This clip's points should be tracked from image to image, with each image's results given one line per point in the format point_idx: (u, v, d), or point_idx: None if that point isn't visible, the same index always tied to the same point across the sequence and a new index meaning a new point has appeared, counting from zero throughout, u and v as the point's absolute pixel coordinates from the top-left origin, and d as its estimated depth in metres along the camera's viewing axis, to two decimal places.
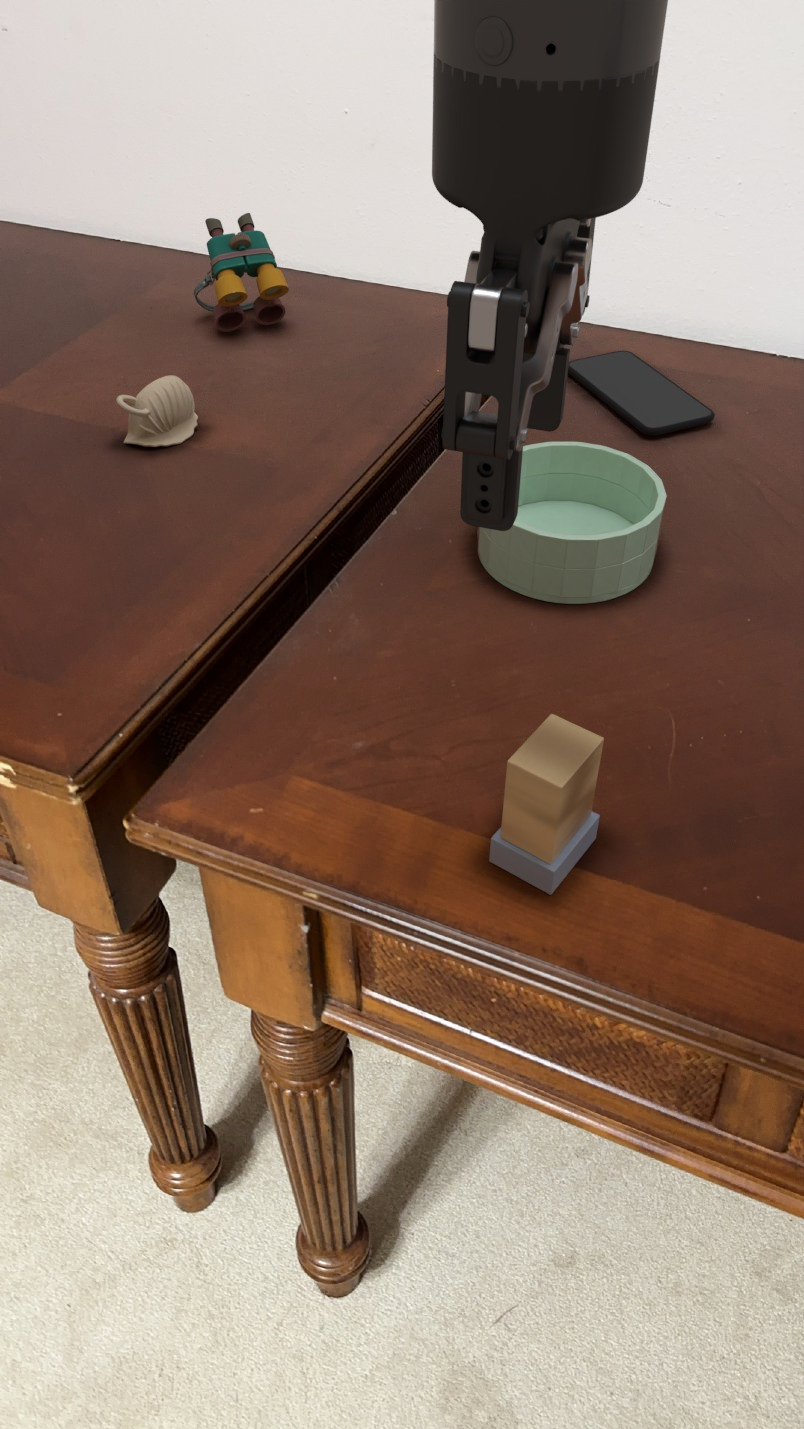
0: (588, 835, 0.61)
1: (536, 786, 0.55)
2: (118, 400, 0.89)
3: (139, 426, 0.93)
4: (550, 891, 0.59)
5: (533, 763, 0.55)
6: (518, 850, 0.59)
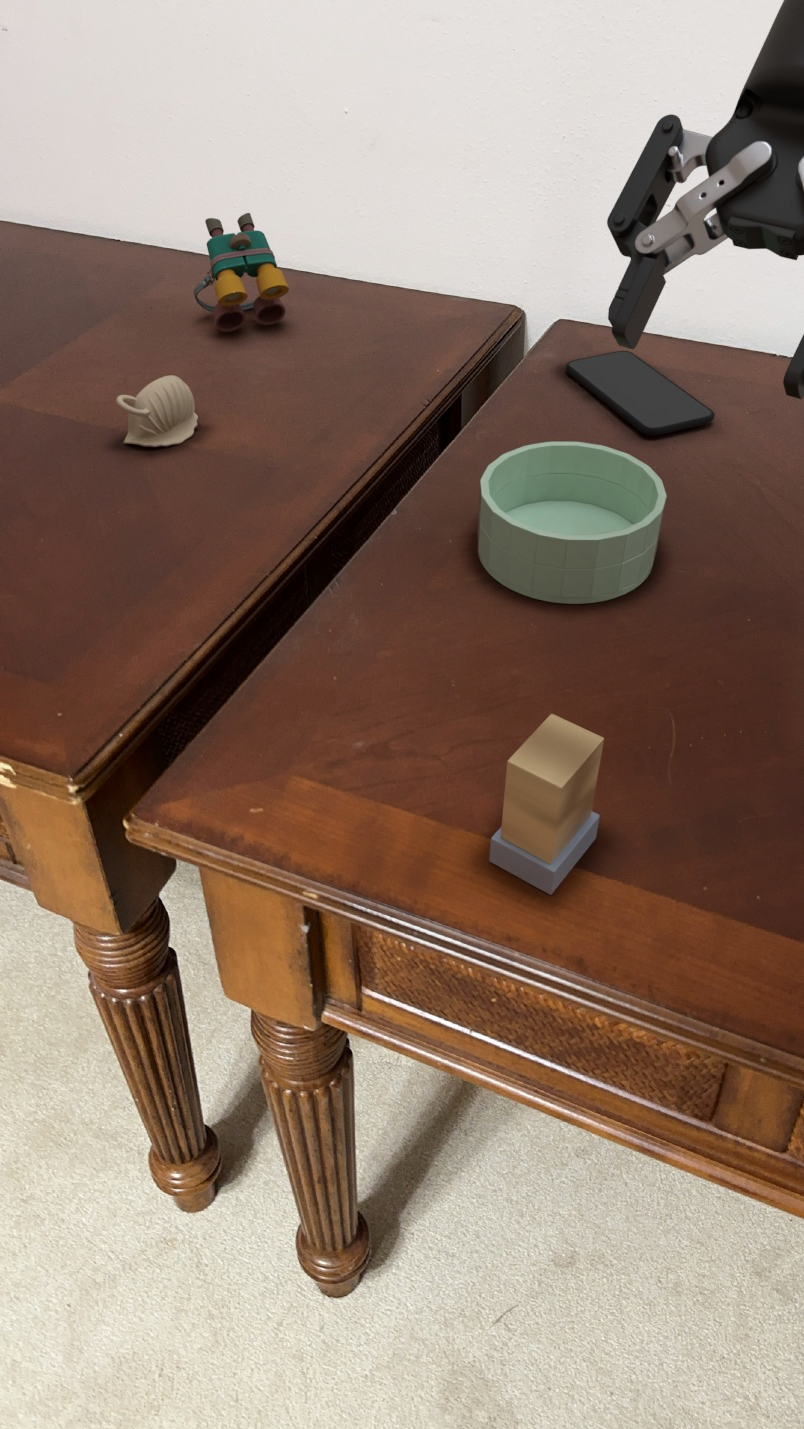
0: (588, 835, 0.61)
1: (536, 786, 0.55)
2: (118, 400, 0.89)
3: (139, 426, 0.93)
4: (550, 891, 0.59)
5: (533, 763, 0.55)
6: (518, 850, 0.59)
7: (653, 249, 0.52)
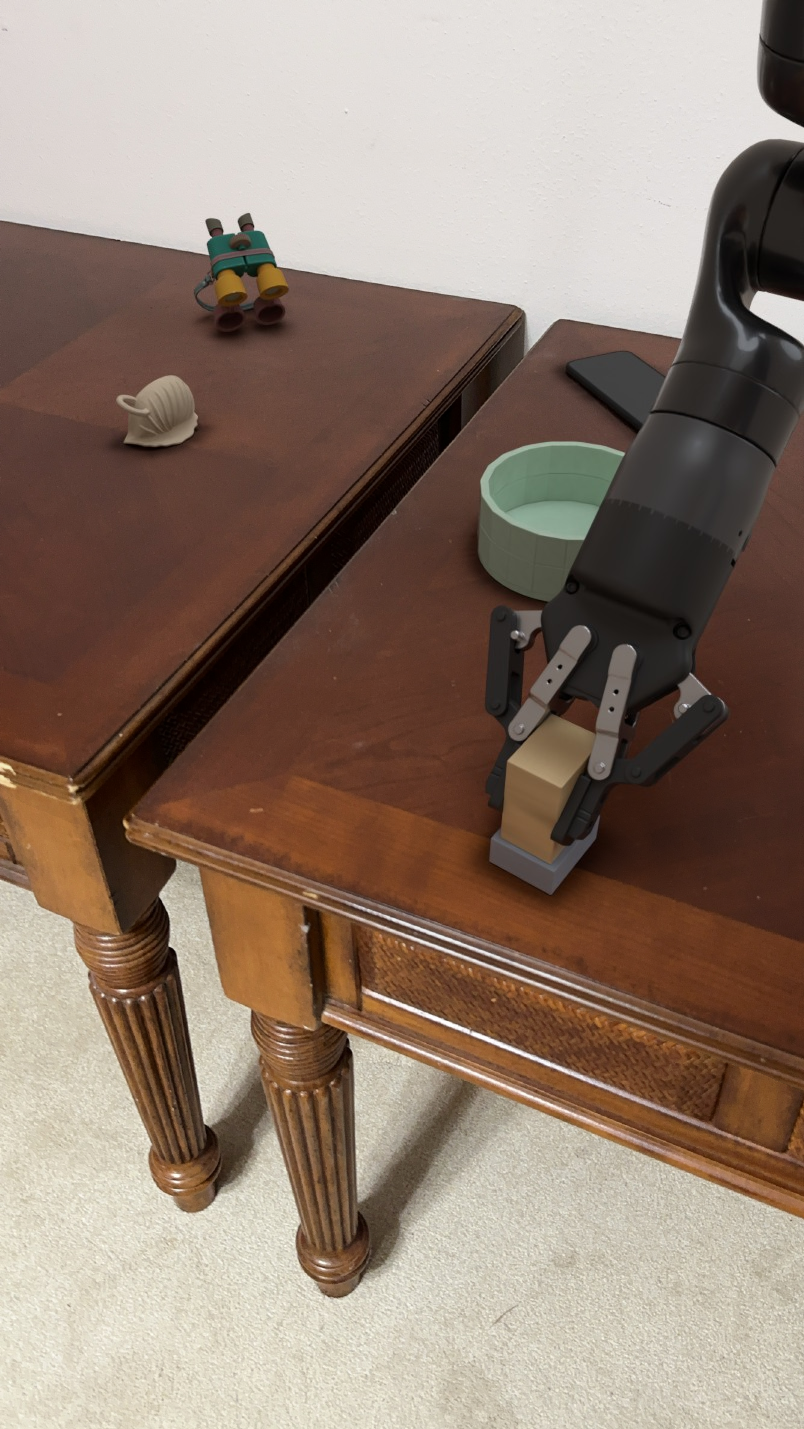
0: (588, 835, 0.61)
1: (536, 786, 0.55)
2: (118, 400, 0.89)
3: (139, 426, 0.93)
4: (550, 891, 0.59)
5: (533, 763, 0.55)
6: (518, 850, 0.59)
7: (527, 735, 0.57)
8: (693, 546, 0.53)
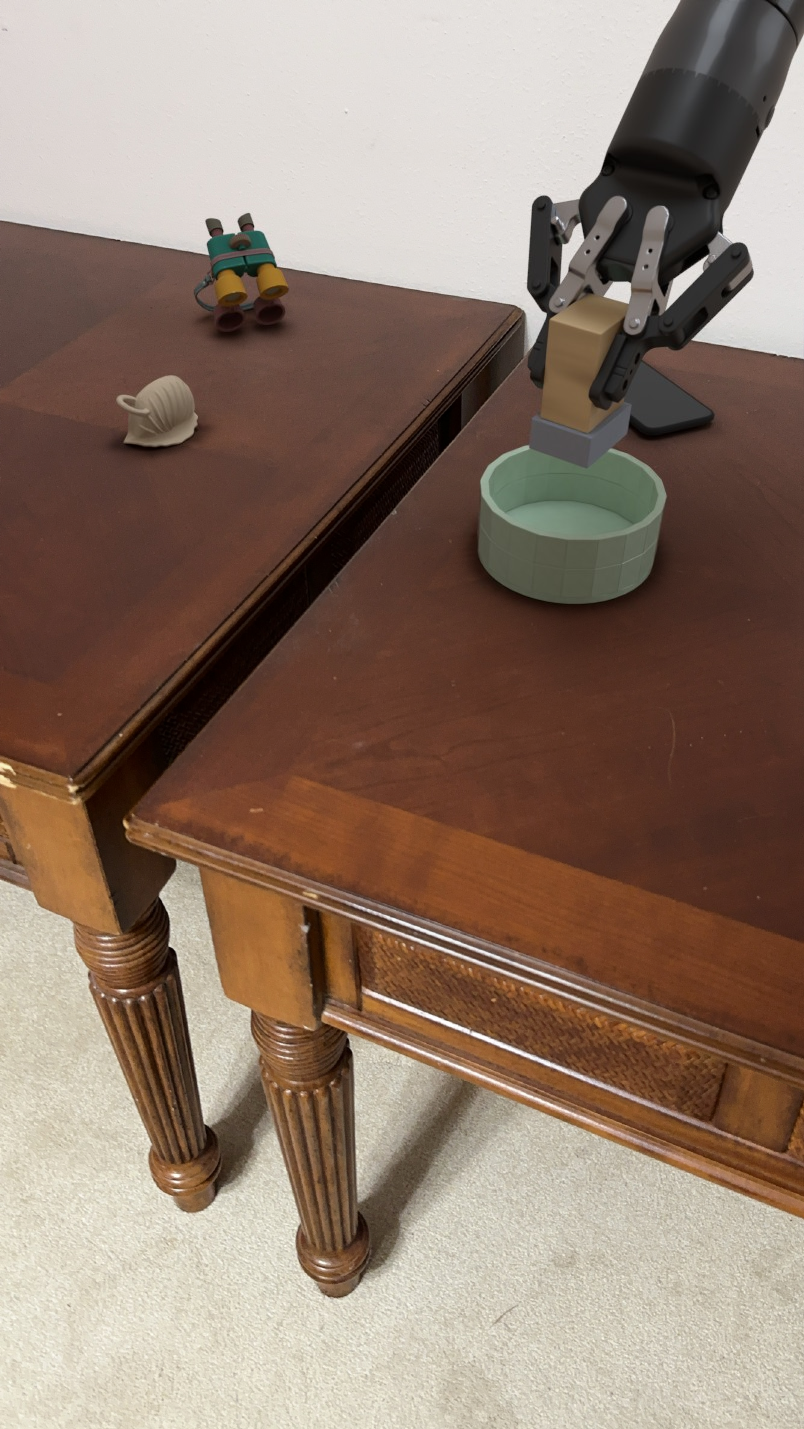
0: (620, 420, 0.65)
1: (576, 340, 0.60)
2: (118, 400, 0.89)
3: (139, 426, 0.93)
4: (586, 464, 0.64)
5: (573, 320, 0.60)
6: (557, 425, 0.64)
7: (567, 306, 0.62)
8: (722, 102, 0.58)
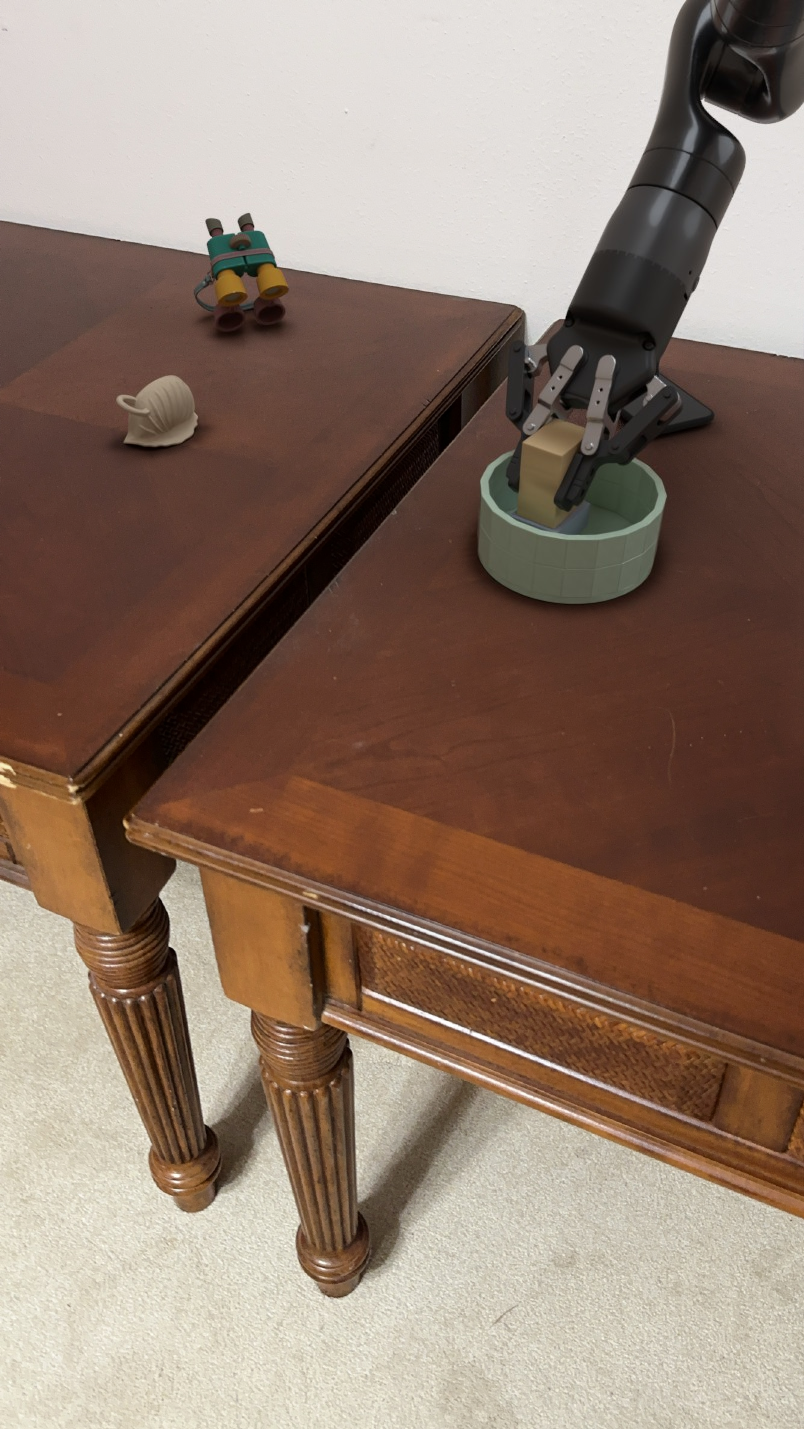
0: (581, 516, 0.82)
1: (543, 459, 0.76)
2: (118, 400, 0.89)
3: (139, 426, 0.93)
4: None
5: (541, 443, 0.77)
6: (530, 521, 0.80)
7: (536, 430, 0.78)
8: (656, 277, 0.74)
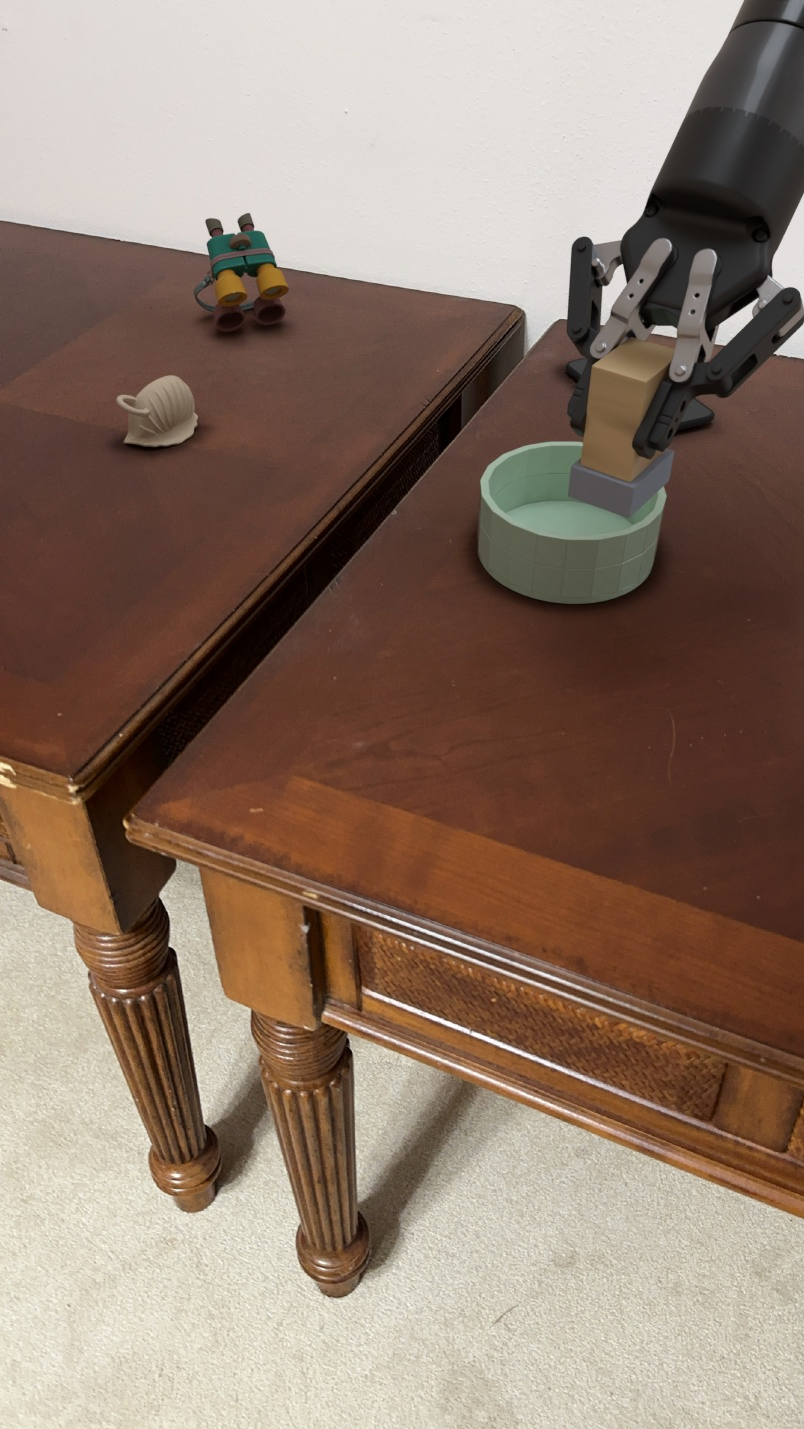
0: (663, 468, 0.63)
1: (620, 388, 0.58)
2: (118, 400, 0.89)
3: (139, 426, 0.93)
4: (628, 514, 0.62)
5: (617, 366, 0.58)
6: (598, 473, 0.62)
7: (609, 351, 0.60)
8: (773, 142, 0.55)
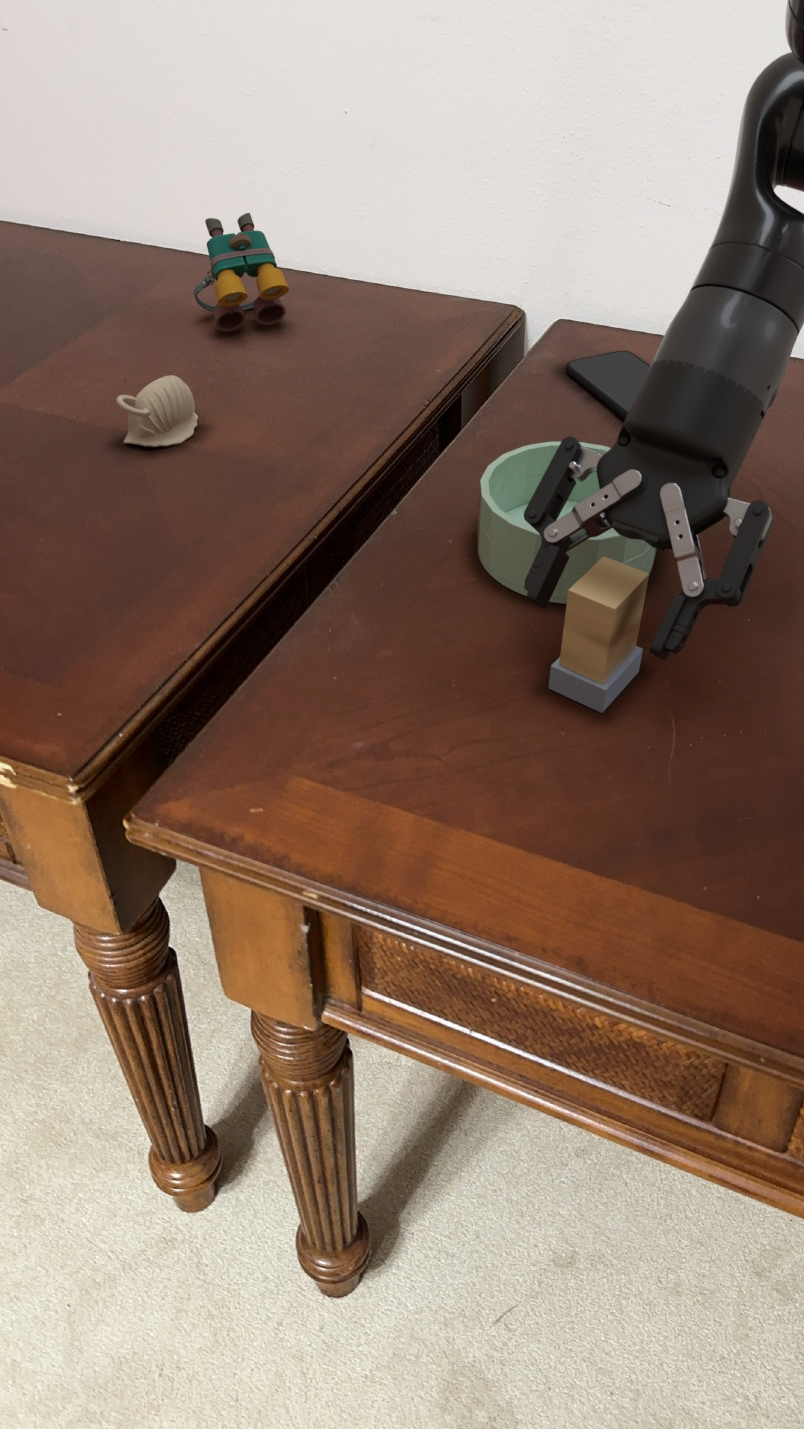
0: (633, 665, 0.71)
1: (593, 610, 0.66)
2: (118, 400, 0.89)
3: (139, 426, 0.93)
4: (601, 709, 0.70)
5: (590, 591, 0.66)
6: (575, 674, 0.70)
7: (557, 540, 0.68)
8: (729, 395, 0.63)
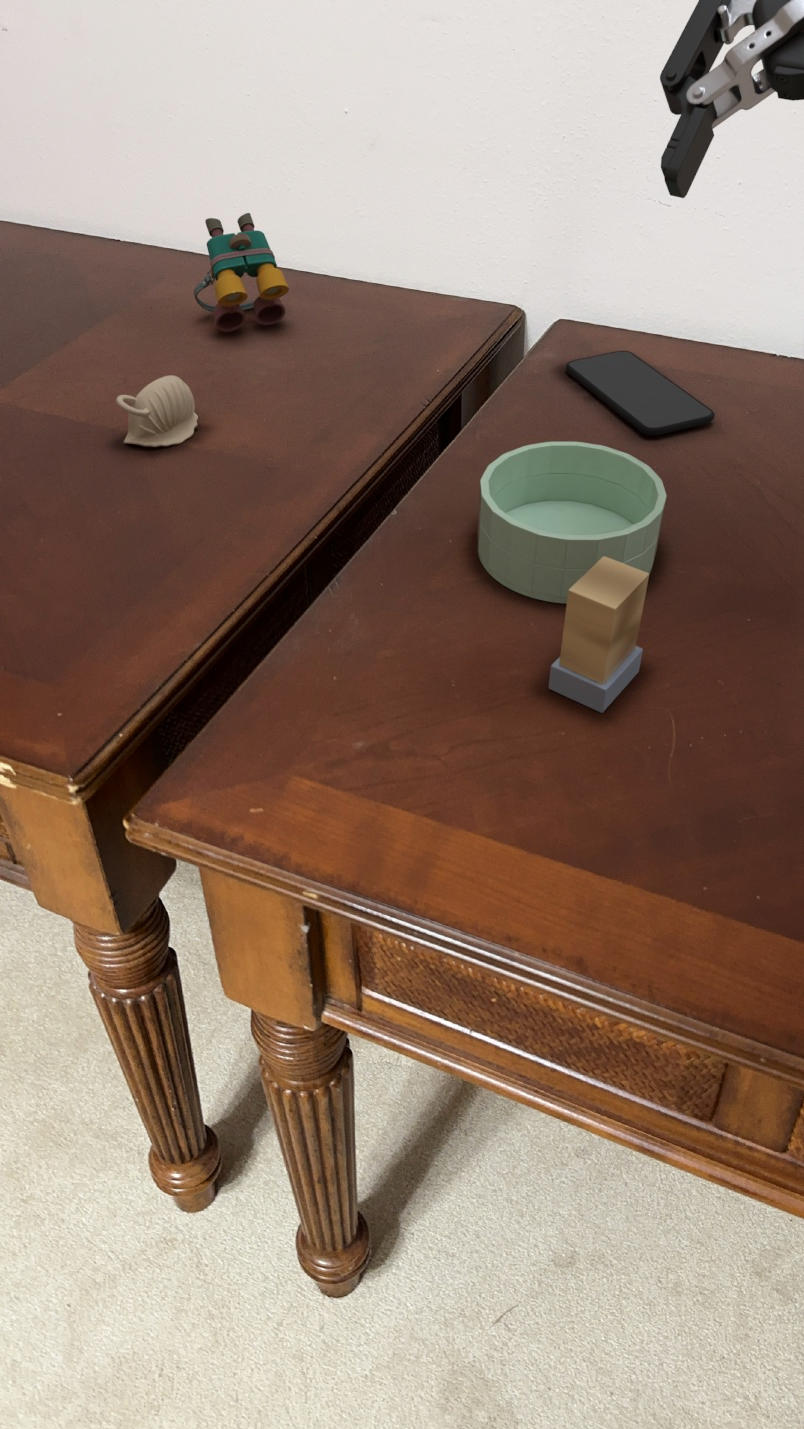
0: (633, 665, 0.71)
1: (593, 610, 0.66)
2: (118, 400, 0.89)
3: (139, 426, 0.93)
4: (601, 709, 0.70)
5: (590, 591, 0.66)
6: (575, 674, 0.70)
7: (704, 99, 0.55)
8: None
